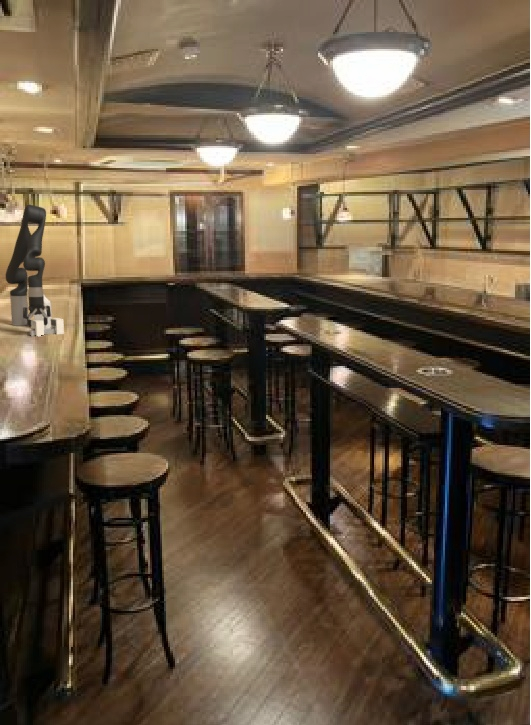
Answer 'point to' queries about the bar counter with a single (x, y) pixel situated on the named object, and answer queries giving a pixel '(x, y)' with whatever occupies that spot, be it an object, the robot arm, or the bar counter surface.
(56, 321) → the block
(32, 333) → the rail
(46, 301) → the milk carton
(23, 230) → the robot arm
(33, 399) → the bar counter surface
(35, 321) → the cream rectangular block
